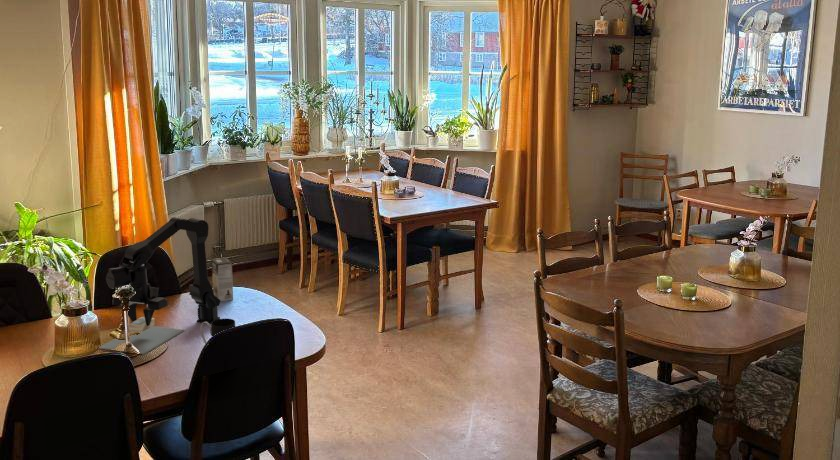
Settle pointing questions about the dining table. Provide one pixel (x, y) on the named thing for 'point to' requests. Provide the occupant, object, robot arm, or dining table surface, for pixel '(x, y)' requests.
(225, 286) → the coffee box
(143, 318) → the framed mirror
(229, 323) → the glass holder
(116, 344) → the grey rectangular board
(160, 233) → the robot arm
